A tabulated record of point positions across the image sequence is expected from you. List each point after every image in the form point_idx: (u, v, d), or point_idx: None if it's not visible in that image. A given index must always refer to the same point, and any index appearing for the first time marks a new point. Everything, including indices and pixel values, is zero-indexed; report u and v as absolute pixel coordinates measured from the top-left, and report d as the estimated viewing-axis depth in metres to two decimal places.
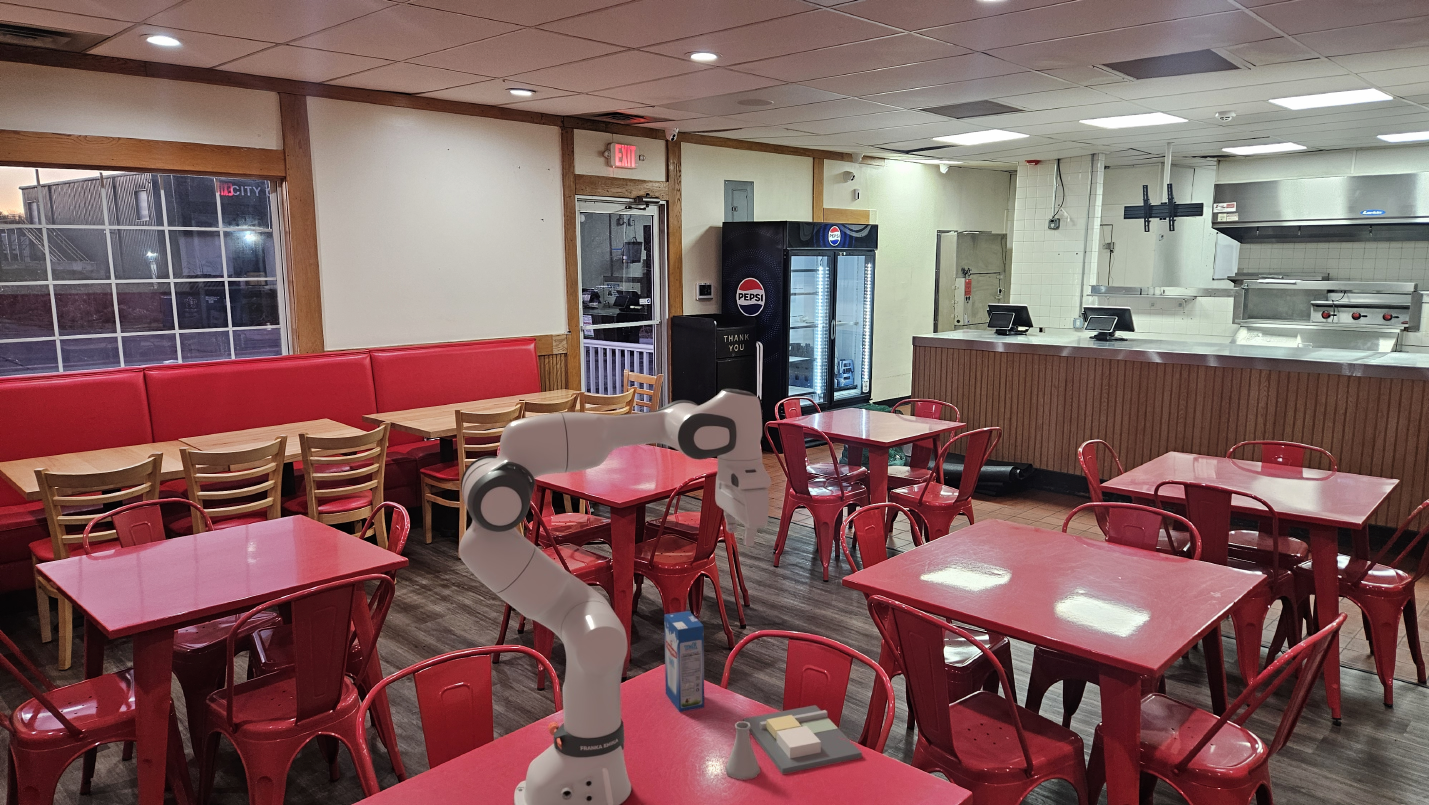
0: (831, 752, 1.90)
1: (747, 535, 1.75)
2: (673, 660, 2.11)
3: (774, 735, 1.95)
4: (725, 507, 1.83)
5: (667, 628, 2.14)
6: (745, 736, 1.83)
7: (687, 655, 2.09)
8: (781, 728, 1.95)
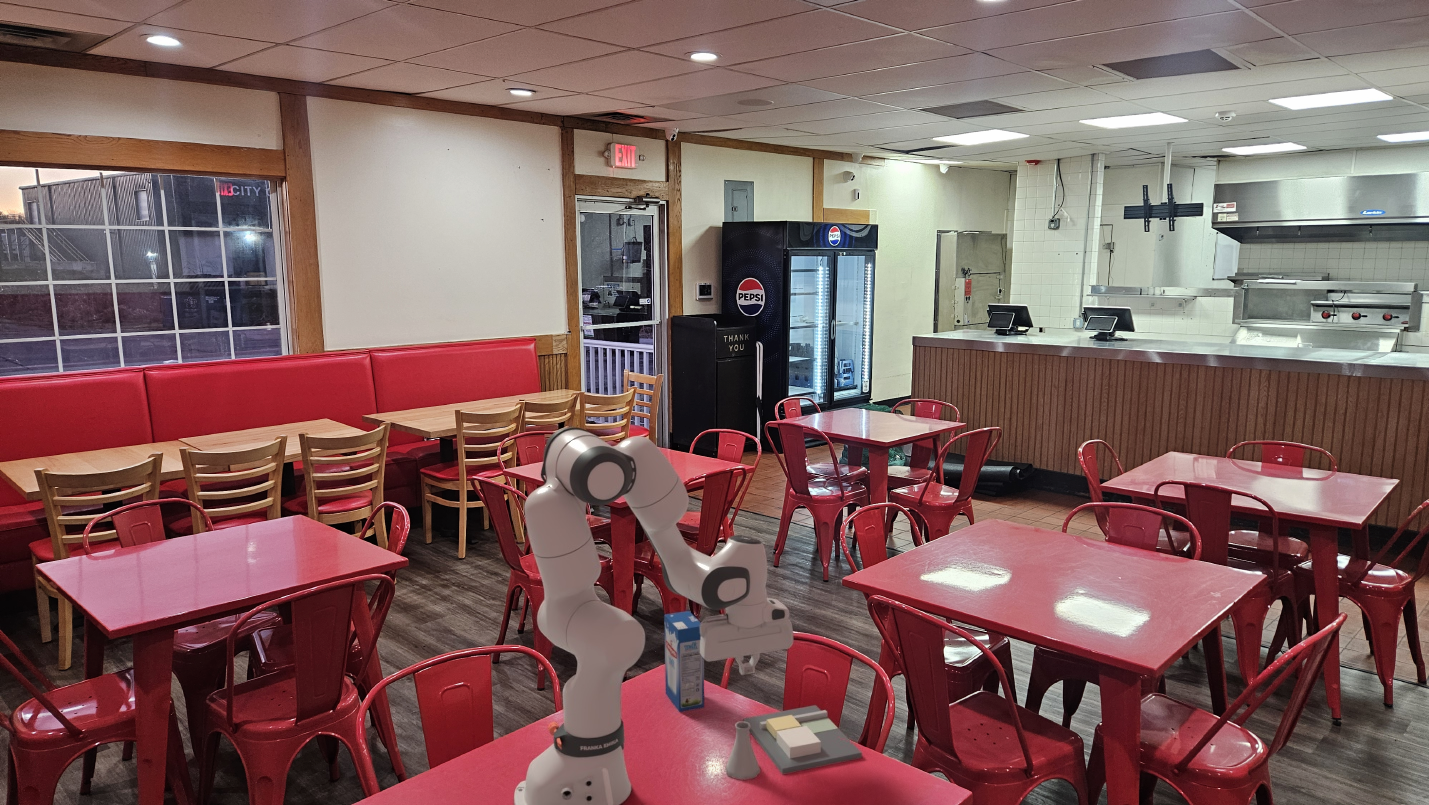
0: (831, 752, 1.90)
1: None
2: (673, 660, 2.11)
3: (774, 735, 1.95)
4: (734, 653, 1.90)
5: (667, 628, 2.14)
6: (745, 736, 1.83)
7: (687, 655, 2.09)
8: (781, 728, 1.95)
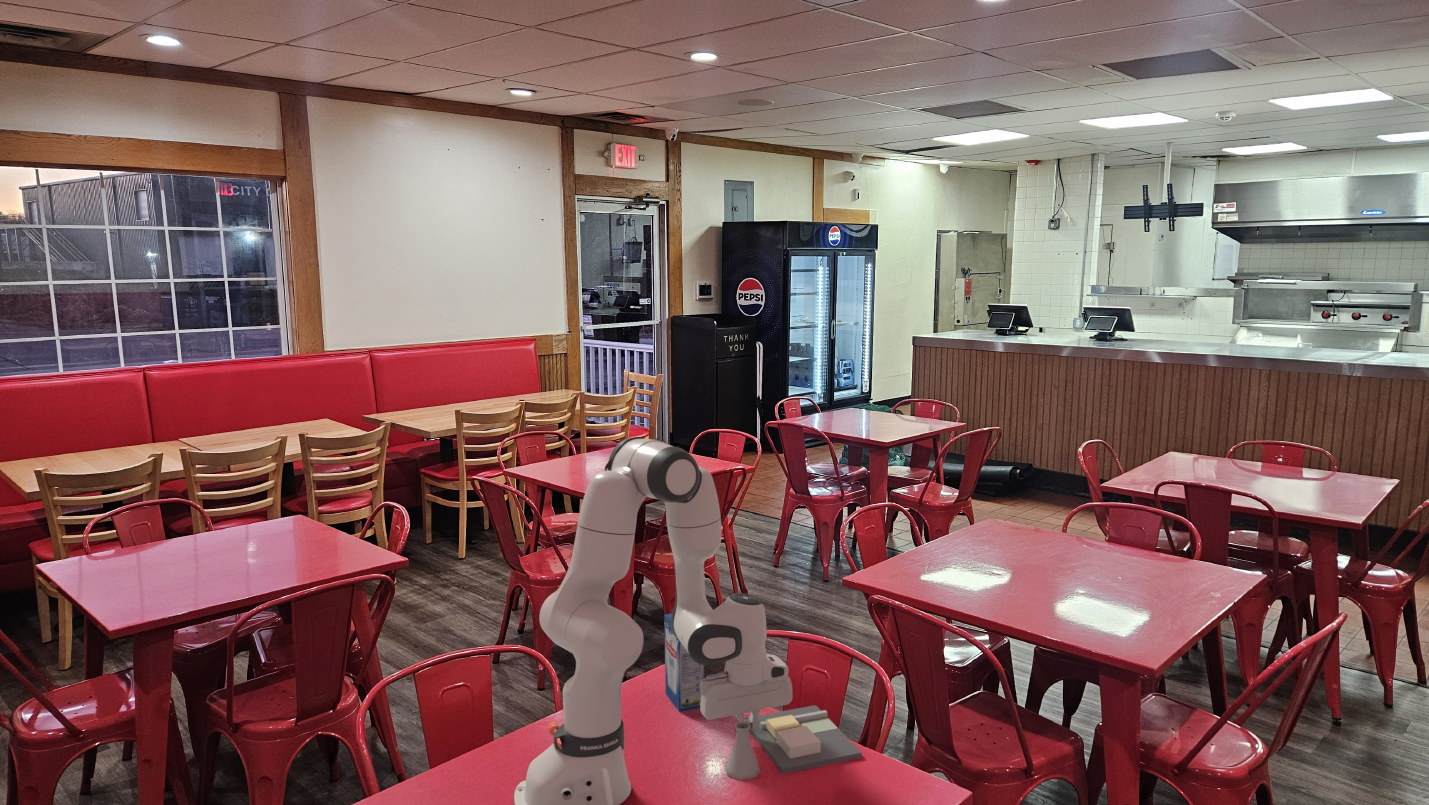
0: (831, 752, 1.90)
1: None
2: (673, 660, 2.11)
3: (774, 735, 1.95)
4: (735, 711, 1.92)
5: (667, 628, 2.14)
6: (745, 736, 1.83)
7: (687, 655, 2.09)
8: (781, 728, 1.95)
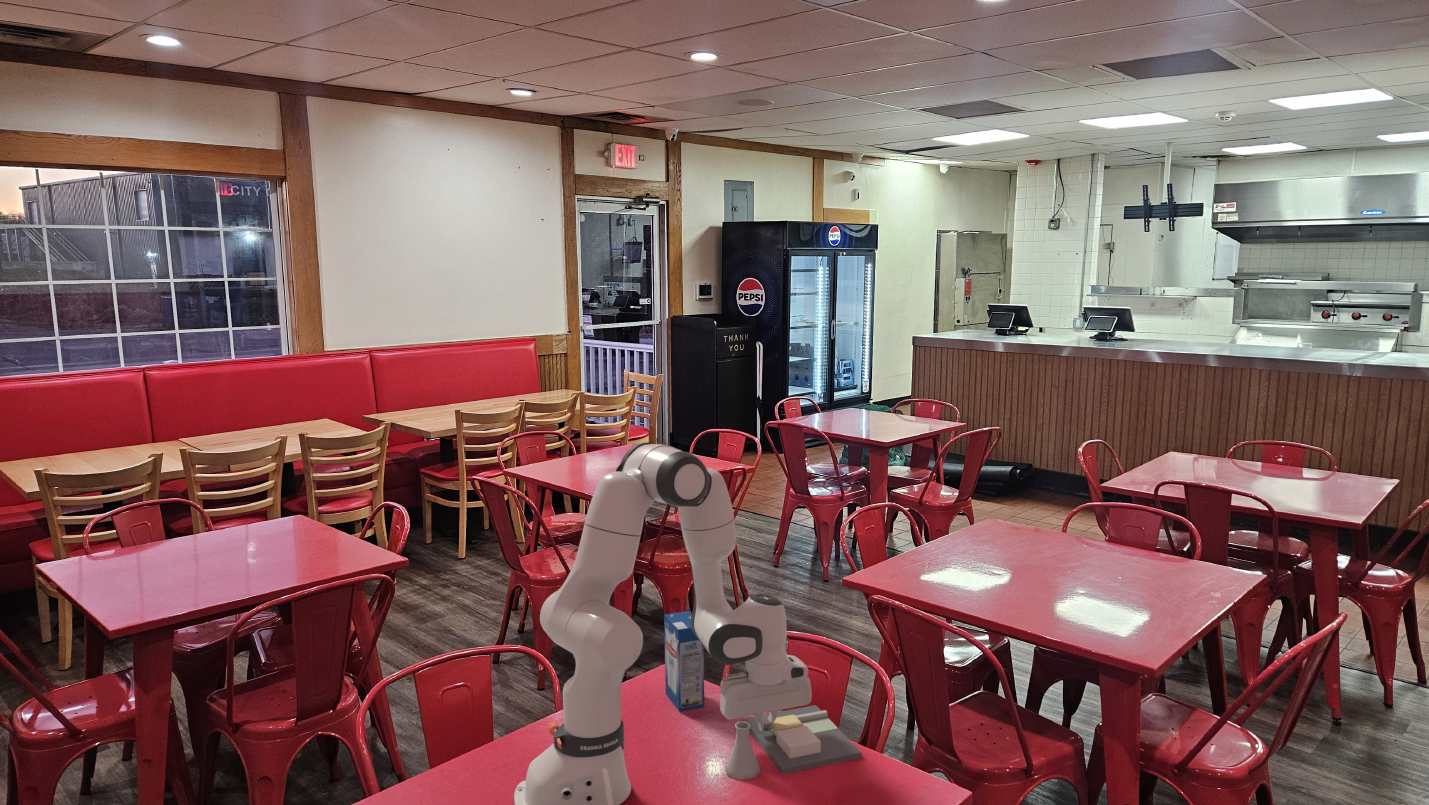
0: (831, 752, 1.90)
1: None
2: (673, 660, 2.11)
3: (776, 735, 1.95)
4: (754, 710, 1.93)
5: (667, 628, 2.14)
6: (745, 736, 1.83)
7: (687, 655, 2.09)
8: (783, 728, 1.95)
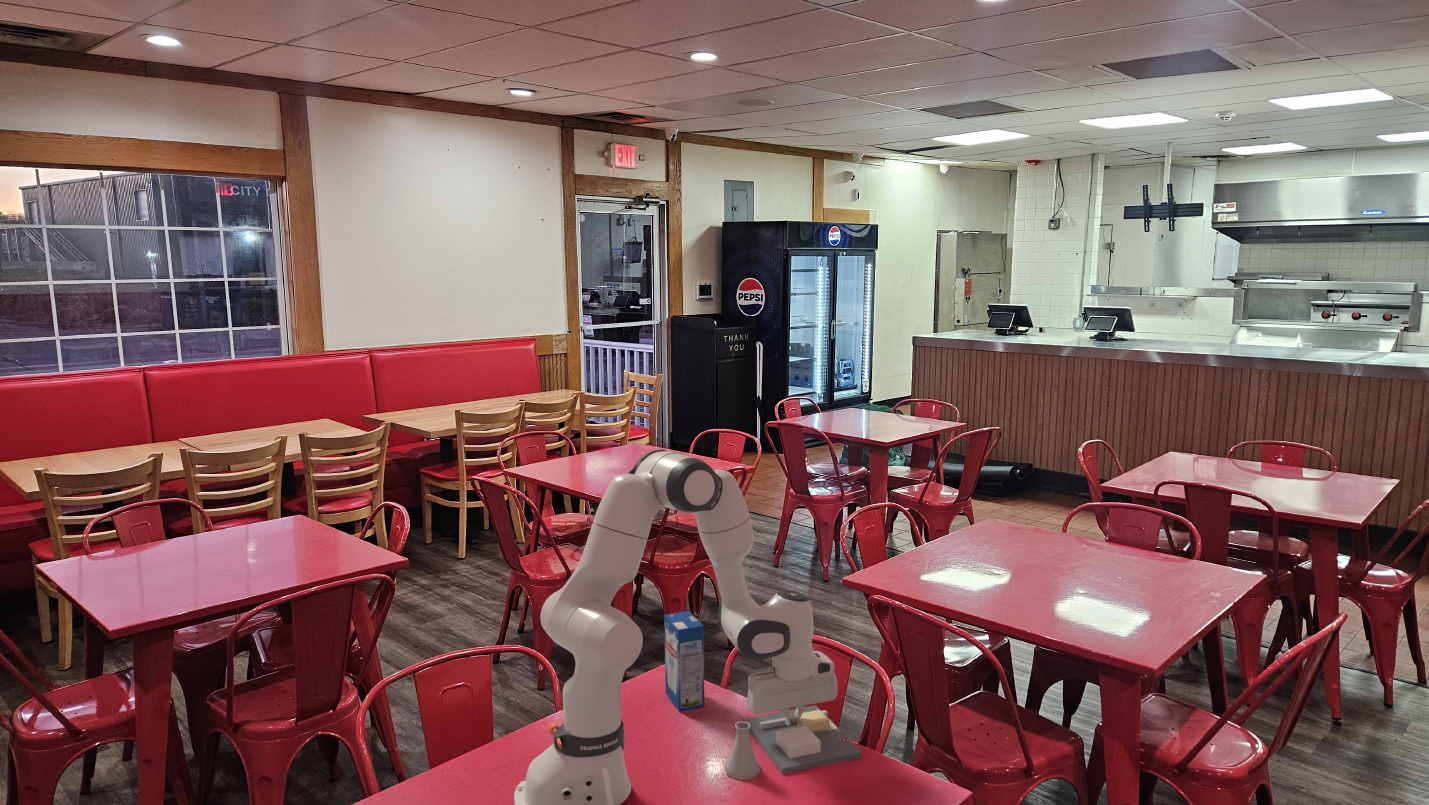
0: (831, 752, 1.90)
1: None
2: (673, 660, 2.11)
3: None
4: (781, 705, 1.95)
5: (667, 628, 2.14)
6: (745, 736, 1.83)
7: (687, 655, 2.09)
8: (810, 723, 1.97)
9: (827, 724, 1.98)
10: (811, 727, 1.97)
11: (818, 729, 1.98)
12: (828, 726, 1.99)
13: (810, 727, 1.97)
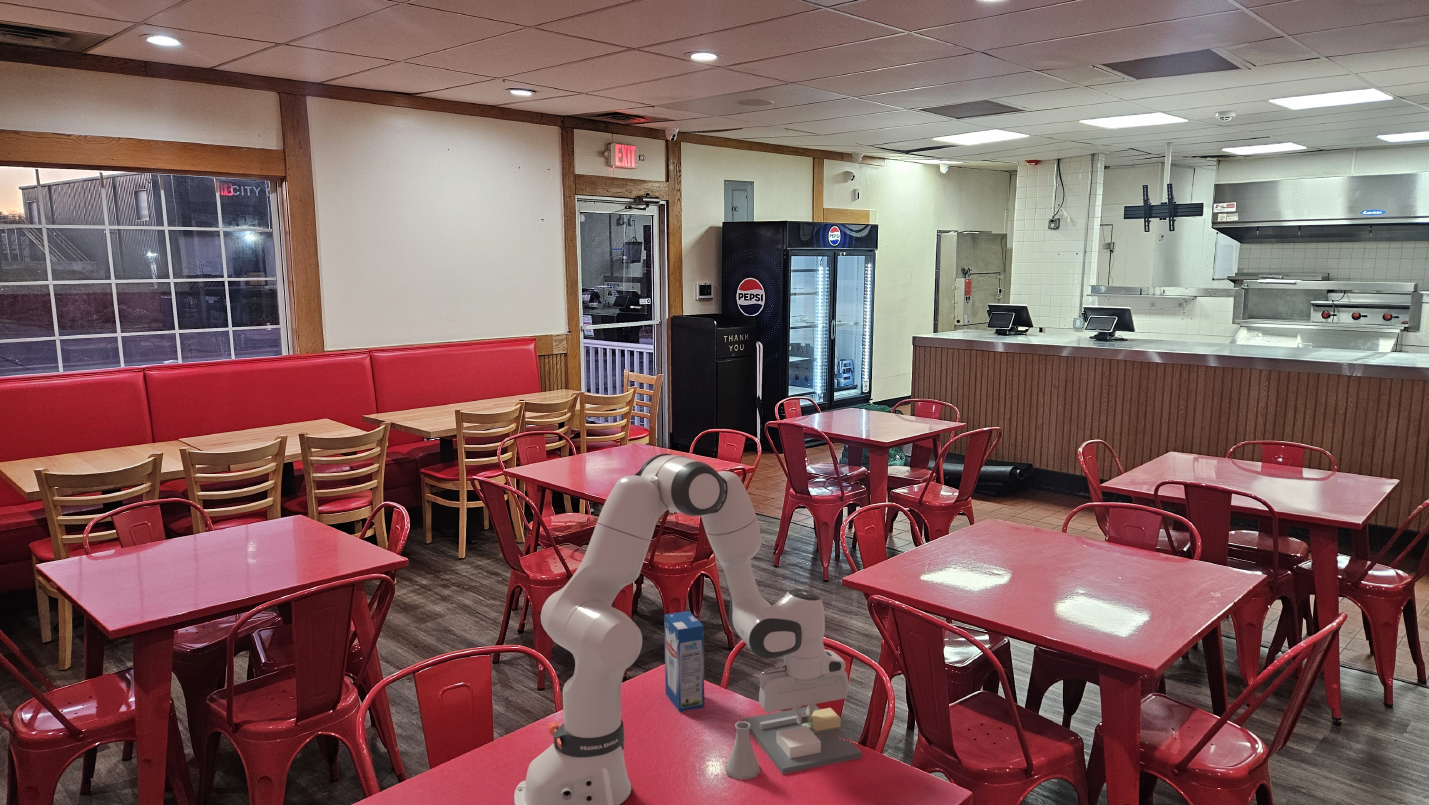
0: (831, 752, 1.90)
1: None
2: (673, 660, 2.11)
3: (814, 727, 1.98)
4: (793, 704, 1.96)
5: (667, 628, 2.14)
6: (745, 736, 1.83)
7: (687, 655, 2.09)
8: (821, 720, 1.98)
9: (838, 722, 1.99)
10: (822, 725, 1.98)
11: (829, 727, 1.99)
12: (839, 724, 1.99)
13: (821, 725, 1.98)
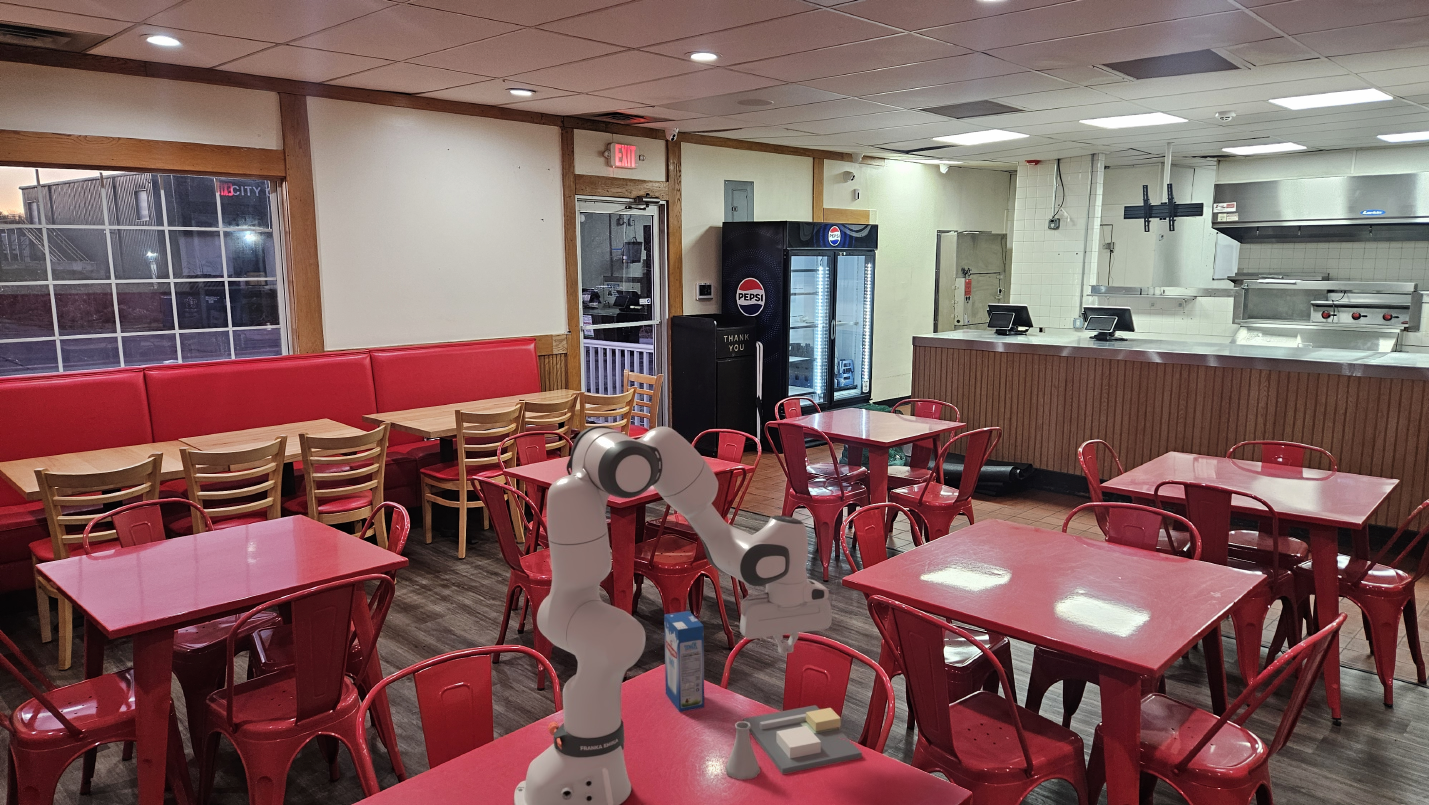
0: (831, 752, 1.90)
1: None
2: (673, 660, 2.11)
3: (814, 727, 1.98)
4: (774, 632, 1.93)
5: (667, 628, 2.14)
6: (745, 736, 1.83)
7: (687, 655, 2.09)
8: (821, 720, 1.98)
9: (838, 722, 1.99)
10: (822, 725, 1.98)
11: (830, 727, 1.99)
12: (839, 724, 1.99)
13: (821, 725, 1.98)
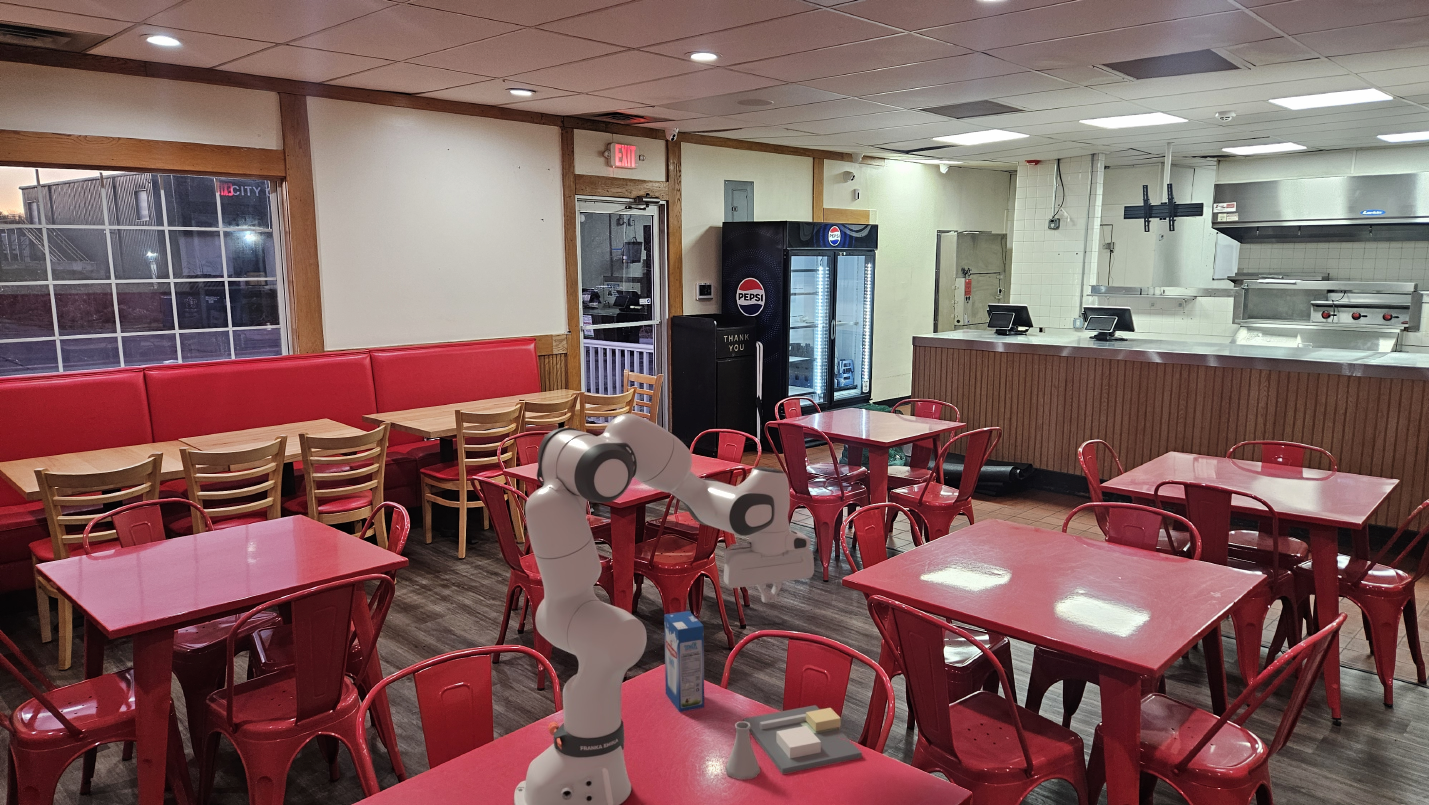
0: (831, 752, 1.90)
1: None
2: (673, 660, 2.11)
3: (814, 727, 1.98)
4: (757, 580, 1.95)
5: (667, 628, 2.14)
6: (745, 736, 1.83)
7: (687, 655, 2.09)
8: (821, 720, 1.98)
9: (838, 722, 1.99)
10: (822, 725, 1.98)
11: (830, 727, 1.99)
12: (839, 724, 1.99)
13: (821, 725, 1.98)
